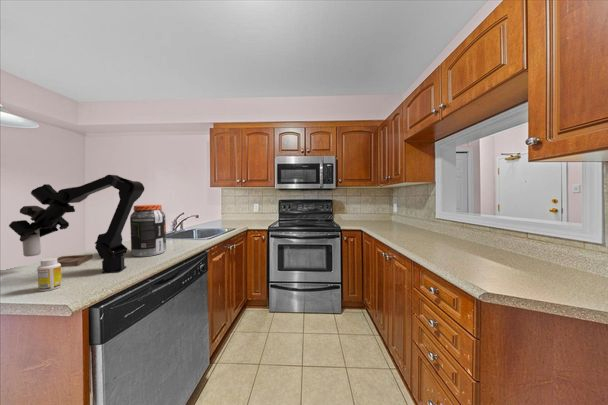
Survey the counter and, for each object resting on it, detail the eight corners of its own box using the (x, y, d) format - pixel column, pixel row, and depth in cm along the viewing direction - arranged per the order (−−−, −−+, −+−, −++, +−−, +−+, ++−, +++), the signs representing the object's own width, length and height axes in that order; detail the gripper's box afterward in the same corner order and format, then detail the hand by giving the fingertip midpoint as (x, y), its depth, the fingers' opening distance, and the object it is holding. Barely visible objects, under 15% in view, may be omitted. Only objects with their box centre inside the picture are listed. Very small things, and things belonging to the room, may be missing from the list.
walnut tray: (92, 258, 118) (92, 254, 118) (77, 265, 107) (77, 261, 107) (62, 260, 115) (62, 256, 115) (43, 268, 103) (43, 263, 103)
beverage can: (28, 257, 97) (27, 227, 96) (20, 256, 98) (18, 227, 97) (44, 254, 101) (42, 225, 101) (35, 253, 102) (33, 225, 102)
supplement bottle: (61, 283, 86) (59, 256, 86) (62, 288, 83) (61, 258, 82) (38, 288, 82) (36, 259, 82) (38, 293, 79) (37, 262, 78)
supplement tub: (172, 252, 131) (171, 205, 130) (140, 259, 118) (138, 206, 116) (157, 248, 139) (155, 203, 138) (125, 254, 126) (124, 205, 125)
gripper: (60, 198, 108) (36, 222, 108) (12, 199, 89) (-18, 229, 89) (79, 215, 108) (55, 240, 108) (35, 220, 90) (6, 250, 90)
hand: (27, 239), depth 99 cm, fingers closed on beverage can, 5 cm apart
